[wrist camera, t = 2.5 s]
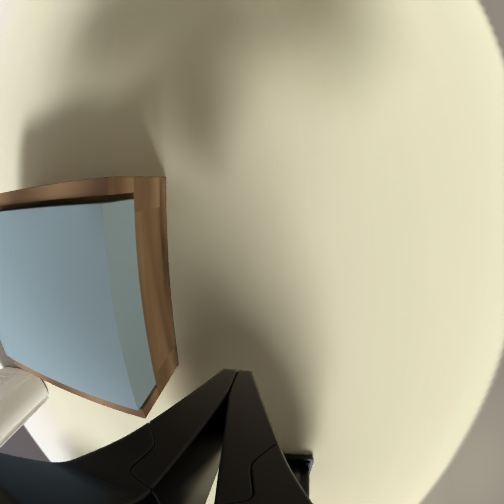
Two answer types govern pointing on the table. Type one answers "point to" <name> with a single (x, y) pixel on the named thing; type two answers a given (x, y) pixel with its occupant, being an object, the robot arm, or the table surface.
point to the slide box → (148, 257)
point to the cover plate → (76, 297)
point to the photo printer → (18, 399)
